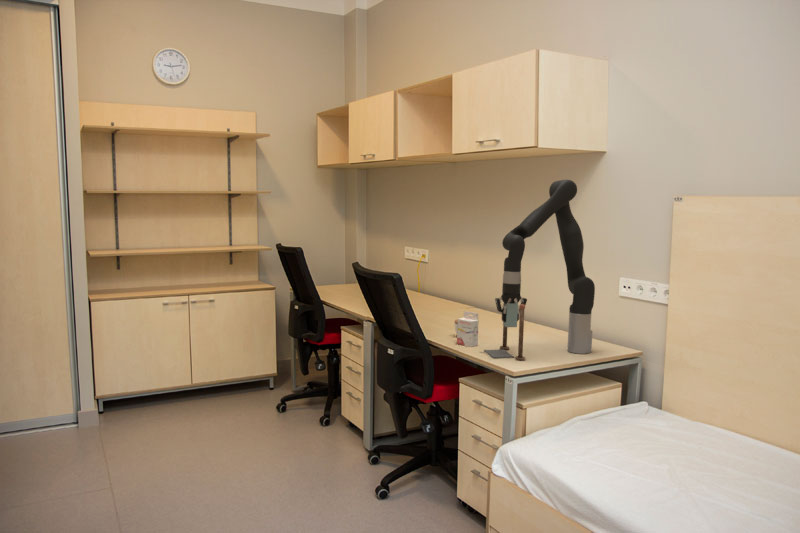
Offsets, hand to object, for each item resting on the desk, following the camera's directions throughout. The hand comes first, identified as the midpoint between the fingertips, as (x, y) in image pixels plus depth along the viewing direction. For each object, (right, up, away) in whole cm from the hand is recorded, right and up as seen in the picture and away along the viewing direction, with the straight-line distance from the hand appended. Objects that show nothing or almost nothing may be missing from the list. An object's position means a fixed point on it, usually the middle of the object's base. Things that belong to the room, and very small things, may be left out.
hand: (509, 321), depth 254 cm
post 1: (-1, -13, +11) cm, 17 cm away
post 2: (+3, -15, -7) cm, 17 cm away
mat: (-5, -14, +1) cm, 15 cm away
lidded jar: (-15, -11, +34) cm, 39 cm away
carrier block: (0, -2, 0) cm, 2 cm away
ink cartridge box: (-16, -12, +18) cm, 27 cm away
